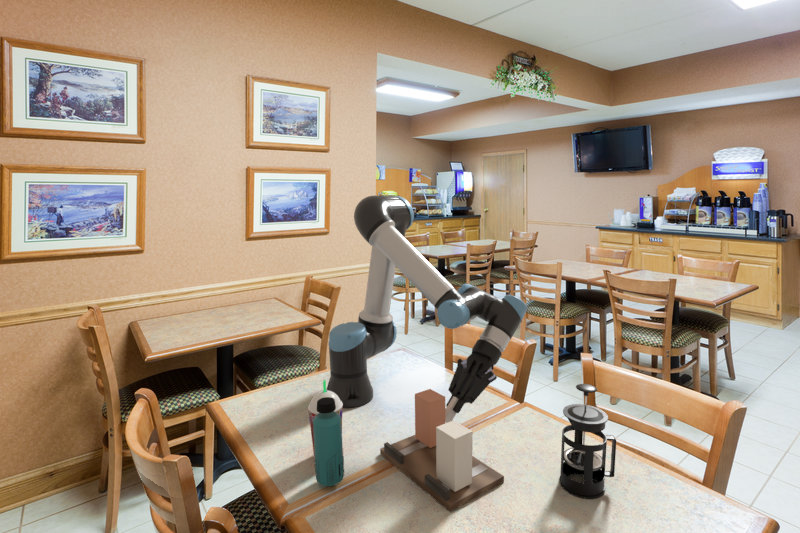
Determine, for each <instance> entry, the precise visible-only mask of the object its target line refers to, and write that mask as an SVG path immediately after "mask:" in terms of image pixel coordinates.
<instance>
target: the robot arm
mask: <svg viewBox="0 0 800 533" xmlns="http://www.w3.org/2000/svg"><path fill="white" fill-rule="evenodd" d="M414 218H415V214H414V208H413V207H412V204H411V203H410V202H409V200H407V199H406V198H404V197H403V196H399V195H393V194H389V195H388V194H387V195H369V196H366V197H364V198H362V199H361V200H360V201H359V202H358V203H357V205H356V207H355V209H354V213H353V221H354V225H355V228H356V230H357V231H358V233H359V234H360V236H362V238H363V239H364V240H365V241H366V242H367V243H368V244H369V245H370V246H371V251H370V252H371V253H370V260H369V261H370V262H369V268H368V275H367V283H366V292H365V299H364V300H365V301H364V309H363V310H361V311H360V312H359V313H358V318H357V322H356V321H348V322H346V323H344V322H343V323H341V324H338V325H336V326H333V328H331V330H330V331H329V334H328V350H329V352H328V353H329V366H330V367H329V371H330V376H329V380H328V383H327V385H326V390H329V391H332V392H334V393H335V394H337V395H338V397H339V398H340V400H341V401H342V403H343V409H347V408H351V409H352V408H357V407H361V406H364V405H366V404H368V403H369V402H371V401H372V400H373V398H374V388H373V386H372V383H371V381H370V378H369V374H368V363H367V362H368V360H369V359H370V358H372V357H375V356H377V355H378V354H381V353H382V352H385V351H387V350H388V349H389V348H390V347H392V346H393V345H394V343H395V341H396V339H397V334H398V333H397V331H398V330H397V326H396V325H395V322H394V316H393V315H392V314H391V313H390V309H391V302H392V295H393V289H394V288H393V287H394V283H395V282H394V281H395V274H396V269H398V270H399V271H400V273H401V274H402V275H403V276H405V278H406V279H408V281H409V283H410V282H411V284H412V285H413V286H414V287H415V288H416V289H417V290H418V291H419V292H420V293H421V295H423V297H425V298H426V300H427V301H428V302H429V303H430V304H431V305H432V306H433V307H434V308H435V310H437V312H436V313H437V319H438V322H439V323H440V324H441V325H442V326H443V327H444V328H446V329H451V330H454V329H457V328H460V327H464V326H465V325H466V324H468V323H469V322H470V321H471V320H474V319H475V318H479V319H480V320H482V321H485V322H487V324H486V325H485V328H484V329H483V331H482V332H481V334H480V335H479V339H477V340H476V342H475V343H474V345H473V347H472V348H471V354H469V355H468V356H467V357H466V358H465V359H461V358H458V360H457V366H456V369H455V372H454V374H453V377H452V379H451V381H450V384H449V386H448V391H449V392H450V394H451V396H450V398H449V399H448V401H447V403H445V423H448V422H450V421H453V419H455V416H456V415H457V414H459V413H460V412H461V411H462V409H463V406H464V405H465V404H468V403H469V404H470V405H471V404H473V403H475V401H476V400H477V399H478V397H479V396H480V395H481V394H482V393H483V392H484V391H485V389H486V388H488V386H489V385H490V384H491V383H493V382H494V381H496V380H497V376H498V375H496V374H495V373H494V371H493V370H494V366H495V365H497V364H498V362H499V360H500V359H501V357H502V355H503V354H502V353H503V352H505V350H506V348H507V346H508V344H509V343H510V342H511V340H512V338H513V336H514V334H515V333H516V331H517V330H518V328H519V327H520V325H521V323H522V322H523V319H524V317H525V315H526V313H527V312H528V306H527V304H526V303H525V302H524V301H523V299H521V298H519V297H517V295H516V296H515V295H512V294H505V295H504V297H503V298H499V297H497V296H495V295H493V294H491V293H488V292H487V291H485V290H483V289H481V288H480V287H478V286H475V285H472V284H469V283H463V284H462V285H461V286H460V287H459V288H458V290H457V289H456V288H455V287H454V286H453V285H452V284H451V283H450V282H449V281H448V280H447V279H446V277H444V276H443V275H442V274H441V272H439V271H438V270H437V269H436V267H434V266H433V264H431V263H430V261H428V260H427V259H426V257H424V255H423V254H421V253H420V251H419V250H418V249H416V247H414V245H412V243H410V241H409V240H408V239H407V238H406V231H407V230H408V229H409V228H410V227H411V226H412V225H413V222H414Z"/></svg>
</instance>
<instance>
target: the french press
mask: <svg viewBox="0 0 800 533" xmlns="http://www.w3.org/2000/svg"><path fill="white" fill-rule="evenodd" d="M575 388H576V389H577V391H579V392H582V393H583V396H585V397H584V404H583V403H573V404H569V405H566V406H564V407H563V410H562V412H563V415H564V416H565V417H566V419H567V420H568V421H569V423H570V424H569V425H566V426H564V427H563V428H562V430H561V452H560V453H561V454H560V476H559V479H558V481H559V485H560V487H561V488H562V489H563V490H564V491H565V492H567V493H568V494H570V495H572V496H574V497H576V498H580V499H585V500H595V499H596V500H597V499H600V498H601V497H602V496H603V495H604V494H605V492H606V486H605V479H606V478H614V477H615V471H616V470H615V469H616V468H615V467H616V452H617V451H616V450H617V439H616V437H615V436H614V435H611V434H605V433H604V432H603V431H604V430H605V429H606V423H607V422H608V421H609V416H608V414H607V413H606V412H605V411H604V410H602V409H601V408H599V407H597V406H592V405H589V404H587V401H588V397H589V394H590V393H591V394H592V393H596V392H597V391H598V388H597V387H596V386H594V385H592V384H588V383H579V384H577V385H576V386H575ZM570 431H571V432H572V431H574V437H573V438H574V441H573V440H571V439H570V438H568V437H567V436H566V435H565V433H568V432H570ZM586 433H592V434H594V435H596V436H598V437H600V438H601V439H602V443H600V444H594V445H590V444H589V445H588V444H586ZM608 441H611V454H610V456H611V457H610V470H606V462H607V461H606V459H607V445H608V444H607V442H608ZM565 444H566V445H567V446H569V447H570V448H567V449H565ZM600 451H602V453H601V454H602V456H601V455H600V454H598V453H597V452H600ZM572 475H580V476H583V479H582V480H583V481H582V482H579V481H578V480H577V481H576V480H575V479H572V478H570V477H569V476H572ZM605 477H606V478H605ZM593 481H594V483H593Z"/></svg>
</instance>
